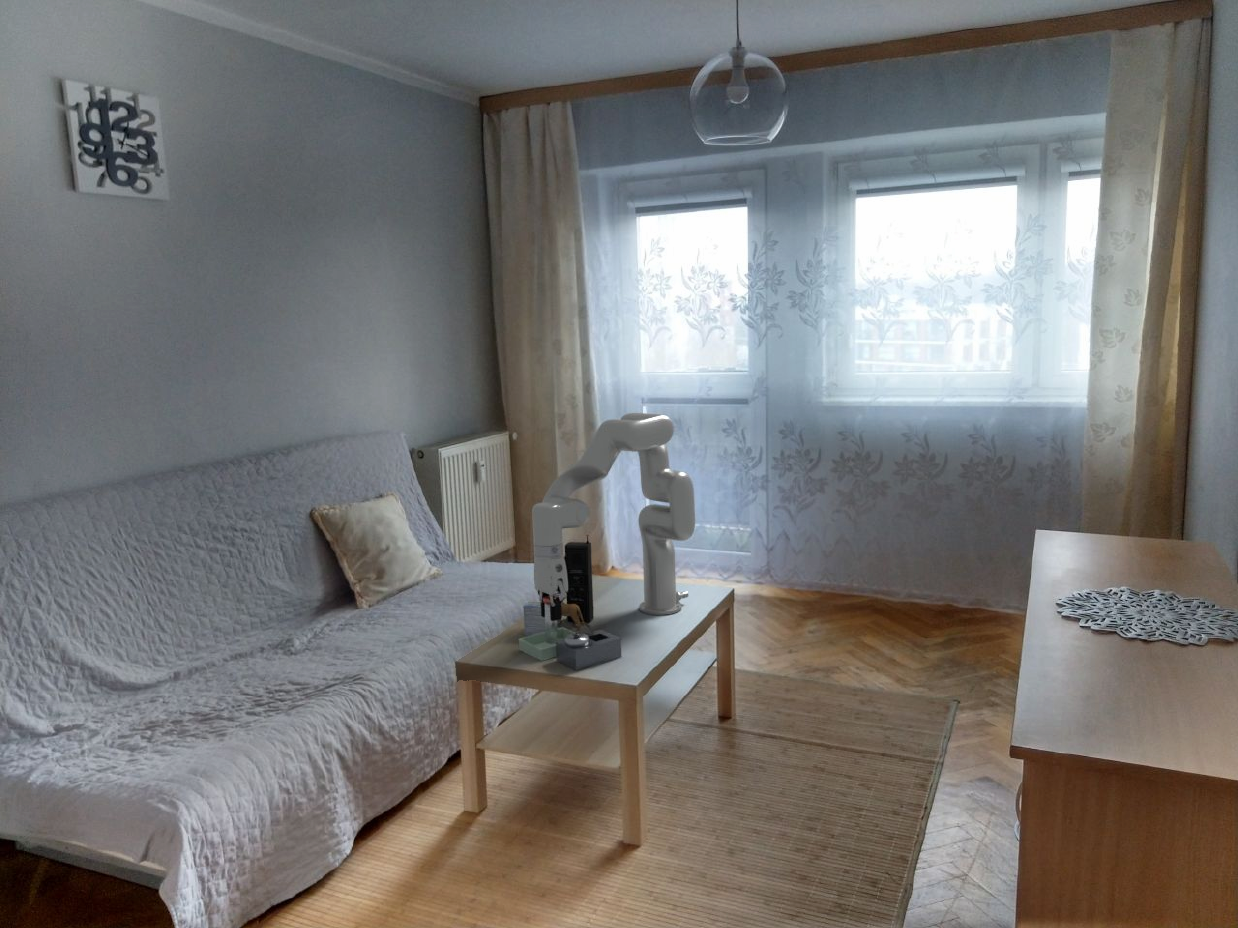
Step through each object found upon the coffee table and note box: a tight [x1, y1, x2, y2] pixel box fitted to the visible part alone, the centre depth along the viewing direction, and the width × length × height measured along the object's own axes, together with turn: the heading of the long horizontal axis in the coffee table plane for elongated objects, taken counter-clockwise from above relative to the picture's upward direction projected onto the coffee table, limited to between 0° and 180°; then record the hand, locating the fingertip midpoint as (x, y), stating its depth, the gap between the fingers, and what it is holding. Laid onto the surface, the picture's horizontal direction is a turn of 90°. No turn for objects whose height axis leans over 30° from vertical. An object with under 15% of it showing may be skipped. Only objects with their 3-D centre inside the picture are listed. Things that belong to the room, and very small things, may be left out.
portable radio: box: [564, 534, 595, 624], centre depth 263 cm, size 8×6×25 cm
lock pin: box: [543, 596, 559, 644], centre depth 240 cm, size 4×4×12 cm
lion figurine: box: [557, 601, 590, 631], centre depth 259 cm, size 15×5×9 cm, turn 68°
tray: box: [518, 627, 577, 662], centre depth 241 cm, size 14×11×3 cm
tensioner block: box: [555, 629, 622, 671], centre depth 232 cm, size 14×9×7 cm, turn 127°
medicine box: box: [522, 601, 545, 637], centre depth 253 cm, size 8×4×9 cm, turn 74°
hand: (551, 617), depth 240 cm, fingers open, 3 cm apart
